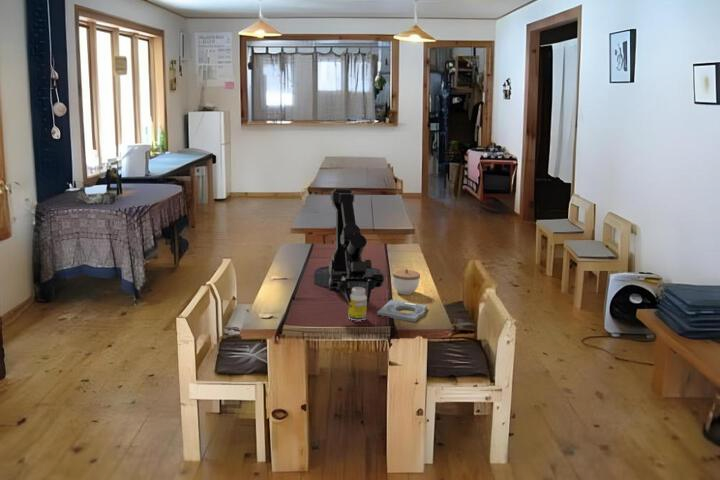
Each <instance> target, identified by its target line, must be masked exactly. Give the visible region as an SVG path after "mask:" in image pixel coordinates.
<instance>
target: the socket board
mask: <svg viewBox="0 0 720 480" xmlns="http://www.w3.org/2000/svg"><path fill="white" fill-rule="evenodd" d="M398 310H409V311H412V312H403V311H398ZM426 310H428V305H426V304H420V303H414V302H407V301H401V300H398V299H390V300H389V301H388V302H387V303H386V304H384V306H382V307H381V308H380V309H379V310H378V311H377V313H376V315H377V314H378V315H385V316H389V317H390V318H391V319H396V320H402V321H408V322H414V323H416V321H418V319H419V318H423V316H424V315H425V314H426V313H425V312H426ZM378 315H377V316H378ZM389 317H388V318H389ZM390 318H389V319H390Z"/></svg>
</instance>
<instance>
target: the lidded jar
mask: <svg viewBox="0 0 720 480" xmlns="http://www.w3.org/2000/svg"><path fill="white" fill-rule="evenodd" d="M420 277H421V274H420V272H418V271H415V270H411V269H408V268H404V269H397V270H393V271H392V285H393V288H394V290H395V291H396V293H397V294H400V295H406V296H407V295H412V294H413V293H414V292H415V291H416V290H417V289H418V287H419V284H420V279H421V278H420Z"/></svg>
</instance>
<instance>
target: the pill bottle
mask: <svg viewBox="0 0 720 480" xmlns="http://www.w3.org/2000/svg"><path fill="white" fill-rule="evenodd" d="M349 295H350V303H349V302H348V314H347V315H348V316H347V317H348V320H350V319H351V320H350V321H352V320H357V321H356V322H358V321H359V322H362V321H361V320H364V321H365V320H366V319H367V309H368V305H367V304H368V303H367V296H366V287H363V286H353V287H352V288H351V293H350V294H349Z"/></svg>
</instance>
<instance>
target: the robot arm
mask: <svg viewBox="0 0 720 480" xmlns="http://www.w3.org/2000/svg"><path fill="white" fill-rule="evenodd" d="M330 200H331V204H332V207H333V208H334V210H335V217H336V219H335V222H336V223H335V226H336V227H335V231H336V232H335V237H336V238H335V239H336V240H335V250H334V252H333V253H332V255H331V259H330V261H329V265H328V273H329V275H330V276H329V279H328V287H329V288H328V290H330V291H338V292H341V294H342V295H343V296H344V297H345V299H346V301H347V302H348V304H349V303H350V295H351V294H350V291H349V289H350V288H351V287H350V285H351V284H353V283H355V284H360V283H361V284H362V283H366V286H365V295H366V296H367V304H368V303H369V302H370V298H371V293H372V290H374V289H375V288H381V287H382V285H383V283H384V280H385V277H384V276H385V275H384V274H383V273H382V272H372V273H371V276H366V274H367V273H366V272H367V270H371V269H372V265H373V264H372V260H371V259H365V260H364V261H363V258H362V255H363V253H364V251H365V248H366V246H367V243H368V242H367V239H366V237H365V236H364V235H363V234H362V233H361V228H360V227H359V226H358V225H357V223H356V217H355V209H354V202H355V191H351V188H349V187H347V188H346V187H342V188H341V187H335V188H334V189H333V190H331V191H330ZM348 288H349V289H348Z"/></svg>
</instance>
